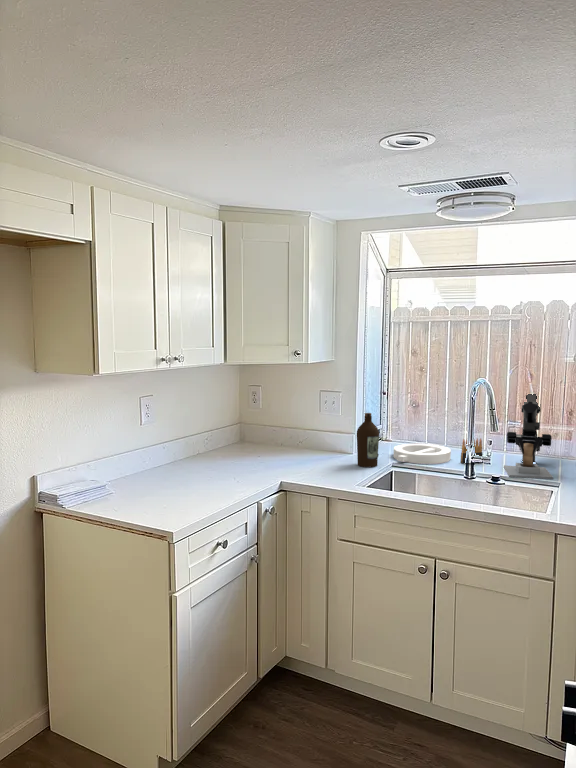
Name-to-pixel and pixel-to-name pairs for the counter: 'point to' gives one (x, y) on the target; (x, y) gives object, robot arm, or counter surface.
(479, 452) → the ammunition clip
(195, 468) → the counter surface
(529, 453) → the walnut pin
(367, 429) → the olive oil
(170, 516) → the counter surface
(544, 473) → the holder
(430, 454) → the ring with crossbar
